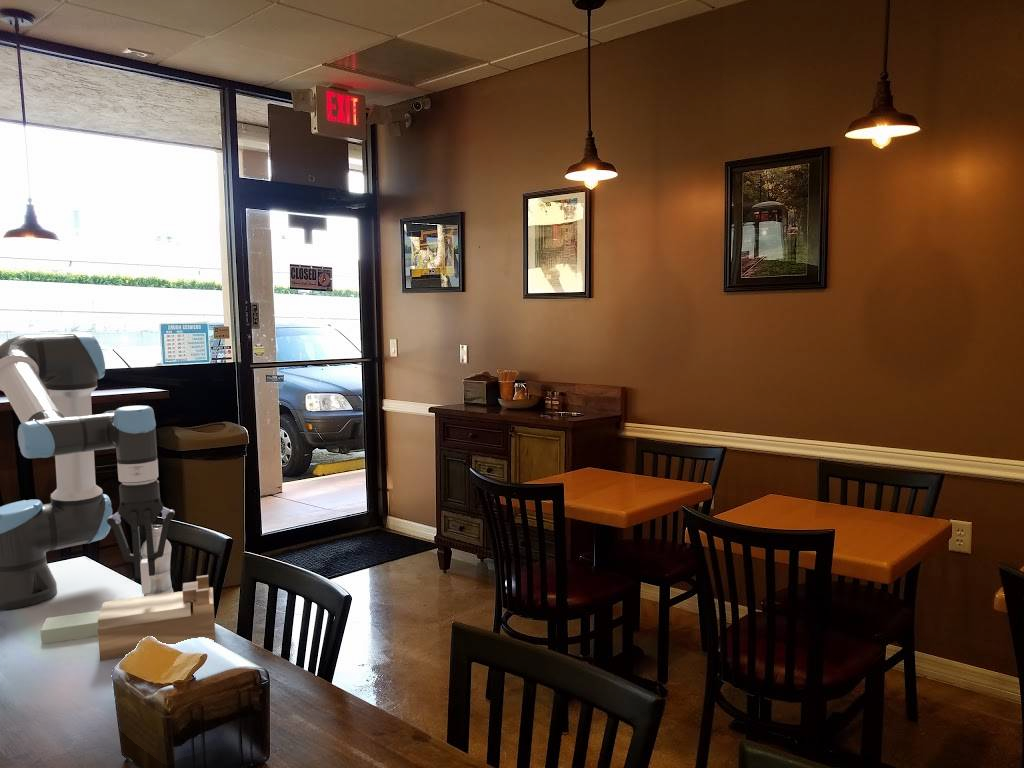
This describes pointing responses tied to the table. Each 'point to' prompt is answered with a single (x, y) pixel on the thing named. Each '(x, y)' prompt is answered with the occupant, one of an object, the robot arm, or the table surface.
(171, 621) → the toolbox
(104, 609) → the lid
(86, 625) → the block
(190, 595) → the block
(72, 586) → the table surface
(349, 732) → the table surface
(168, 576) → the plastic bottle
